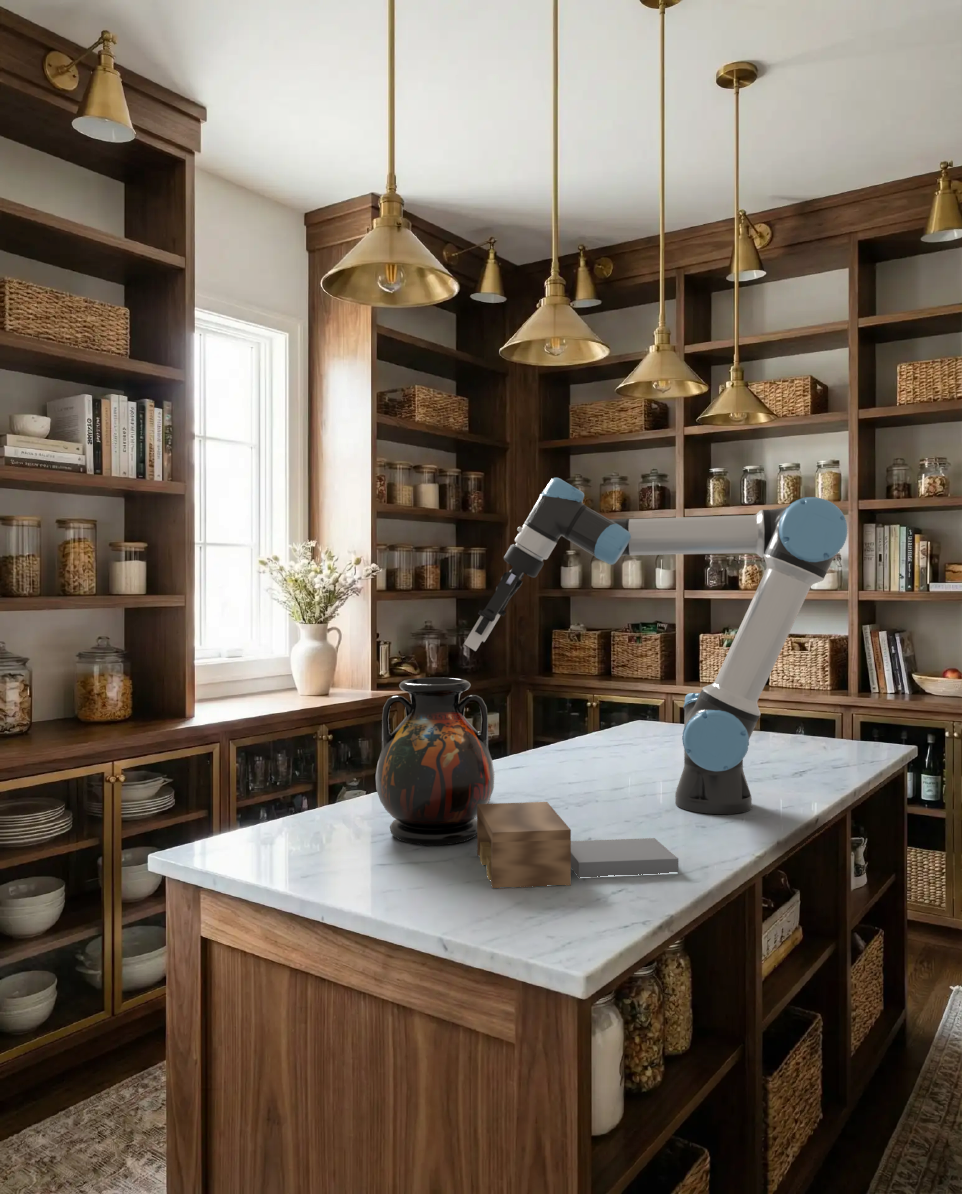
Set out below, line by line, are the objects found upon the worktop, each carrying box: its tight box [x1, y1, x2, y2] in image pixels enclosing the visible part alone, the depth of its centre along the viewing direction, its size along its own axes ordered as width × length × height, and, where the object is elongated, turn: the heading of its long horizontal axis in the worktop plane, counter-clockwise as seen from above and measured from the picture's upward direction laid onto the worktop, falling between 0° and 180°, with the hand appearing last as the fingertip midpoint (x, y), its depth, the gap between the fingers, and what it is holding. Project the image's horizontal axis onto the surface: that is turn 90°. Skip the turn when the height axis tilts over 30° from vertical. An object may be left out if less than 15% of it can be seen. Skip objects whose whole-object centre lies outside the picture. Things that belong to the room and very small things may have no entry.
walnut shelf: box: [476, 801, 572, 889], centre depth 154 cm, size 12×18×8 cm, turn 8°
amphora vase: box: [375, 677, 495, 846], centre depth 174 cm, size 22×22×28 cm
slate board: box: [571, 837, 679, 879], centre depth 156 cm, size 16×12×3 cm
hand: (474, 643), depth 192 cm, fingers open, 13 cm apart
